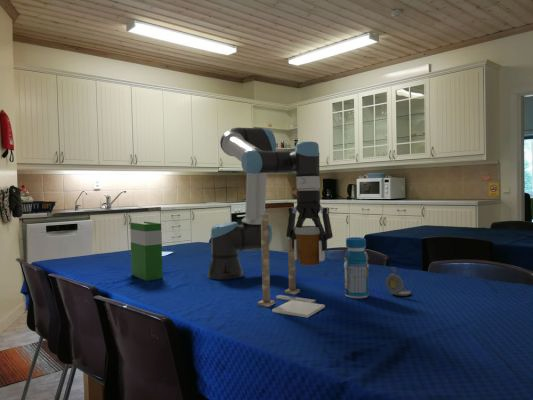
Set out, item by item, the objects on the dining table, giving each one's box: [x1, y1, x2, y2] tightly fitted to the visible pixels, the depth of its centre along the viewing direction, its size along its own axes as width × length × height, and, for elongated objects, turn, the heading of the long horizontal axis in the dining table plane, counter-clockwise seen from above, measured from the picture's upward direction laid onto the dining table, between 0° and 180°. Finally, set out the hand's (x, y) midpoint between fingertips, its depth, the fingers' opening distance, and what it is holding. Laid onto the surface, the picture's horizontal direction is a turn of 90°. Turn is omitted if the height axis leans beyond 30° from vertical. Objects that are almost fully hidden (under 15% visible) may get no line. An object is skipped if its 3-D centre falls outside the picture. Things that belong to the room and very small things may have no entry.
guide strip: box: [275, 294, 317, 303], centre depth 137 cm, size 14×4×1 cm, turn 58°
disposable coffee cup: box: [294, 225, 321, 266], centre depth 134 cm, size 10×10×12 cm
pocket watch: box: [385, 266, 412, 297], centre depth 143 cm, size 8×8×10 cm
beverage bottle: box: [343, 236, 370, 299], centre depth 142 cm, size 8×8×20 cm
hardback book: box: [129, 221, 164, 282], centre depth 184 cm, size 18×7×24 cm, turn 38°
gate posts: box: [257, 212, 301, 308], centre depth 141 cm, size 4×22×29 cm, turn 148°
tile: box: [271, 300, 326, 318], centre depth 127 cm, size 12×12×1 cm
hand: (309, 259), depth 134 cm, fingers closed on disposable coffee cup, 8 cm apart
